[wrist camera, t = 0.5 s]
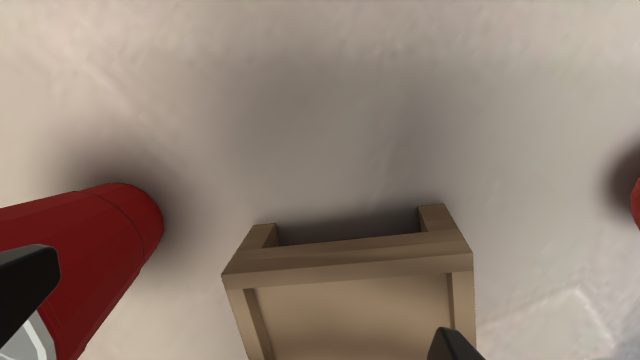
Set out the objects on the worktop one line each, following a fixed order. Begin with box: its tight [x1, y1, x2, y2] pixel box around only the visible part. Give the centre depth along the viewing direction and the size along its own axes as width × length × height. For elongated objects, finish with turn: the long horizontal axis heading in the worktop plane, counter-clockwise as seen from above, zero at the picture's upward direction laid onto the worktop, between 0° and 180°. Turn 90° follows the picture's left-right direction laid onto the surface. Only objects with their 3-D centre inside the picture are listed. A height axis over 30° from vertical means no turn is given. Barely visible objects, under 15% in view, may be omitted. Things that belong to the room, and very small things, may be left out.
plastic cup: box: [0, 183, 164, 360], centre depth 18 cm, size 11×11×12 cm
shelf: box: [221, 204, 476, 360], centre depth 21 cm, size 15×13×6 cm
